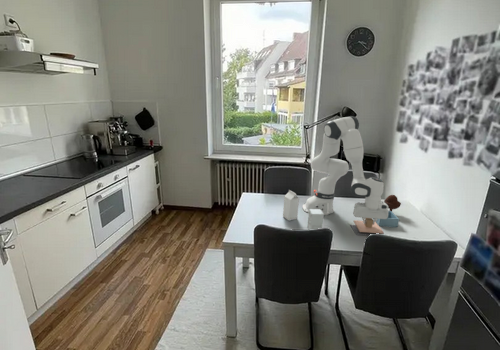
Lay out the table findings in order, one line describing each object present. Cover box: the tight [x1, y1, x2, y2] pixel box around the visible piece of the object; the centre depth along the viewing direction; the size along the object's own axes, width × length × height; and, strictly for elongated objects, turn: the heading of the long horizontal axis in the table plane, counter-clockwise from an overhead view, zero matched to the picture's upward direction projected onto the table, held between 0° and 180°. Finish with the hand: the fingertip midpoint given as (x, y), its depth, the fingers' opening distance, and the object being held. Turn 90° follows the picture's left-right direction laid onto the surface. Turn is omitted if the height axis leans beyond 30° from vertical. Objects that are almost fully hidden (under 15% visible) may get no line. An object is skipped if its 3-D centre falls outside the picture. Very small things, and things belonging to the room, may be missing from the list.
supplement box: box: [307, 209, 325, 230], centre depth 172 cm, size 7×7×13 cm
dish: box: [372, 210, 400, 228], centre depth 187 cm, size 12×12×6 cm
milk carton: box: [282, 189, 300, 221], centre depth 186 cm, size 7×7×19 cm
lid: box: [353, 218, 385, 234], centre depth 174 cm, size 14×14×6 cm
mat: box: [350, 224, 383, 237], centre depth 175 cm, size 18×12×1 cm, turn 87°
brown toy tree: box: [383, 194, 402, 212], centre depth 200 cm, size 11×11×15 cm
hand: (368, 223), depth 174 cm, fingers closed on lid, 3 cm apart
